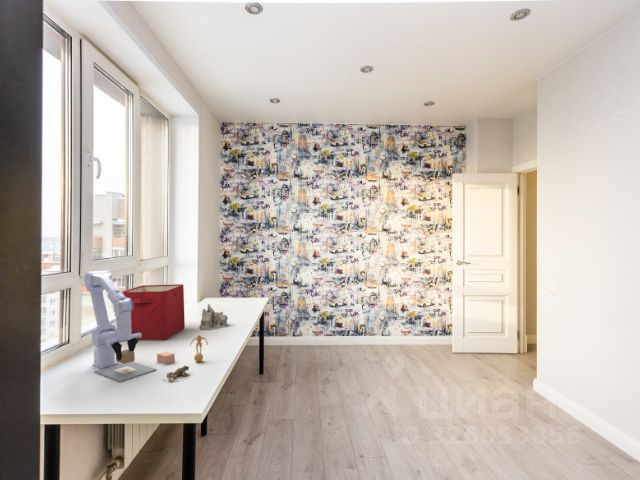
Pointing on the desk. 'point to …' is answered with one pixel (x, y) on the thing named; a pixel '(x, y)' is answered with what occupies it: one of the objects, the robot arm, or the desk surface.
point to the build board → (125, 371)
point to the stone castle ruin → (212, 319)
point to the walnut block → (126, 356)
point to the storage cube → (157, 311)
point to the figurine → (198, 356)
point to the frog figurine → (177, 375)
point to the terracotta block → (166, 358)
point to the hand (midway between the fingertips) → (125, 357)
